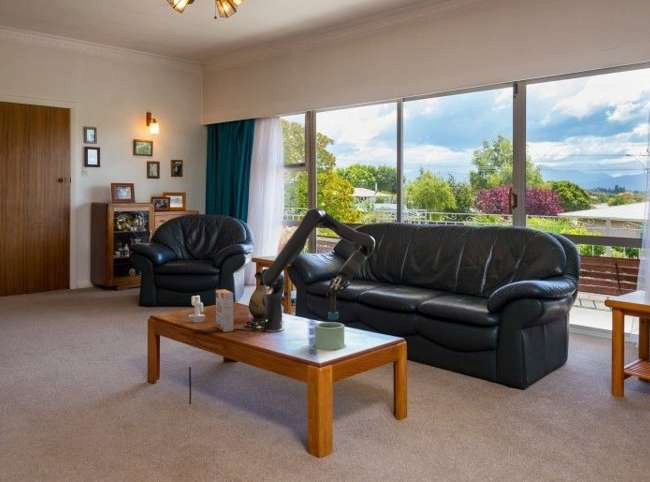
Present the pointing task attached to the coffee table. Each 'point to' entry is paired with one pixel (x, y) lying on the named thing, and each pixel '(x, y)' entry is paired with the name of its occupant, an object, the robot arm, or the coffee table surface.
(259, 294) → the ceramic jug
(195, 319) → the figurine
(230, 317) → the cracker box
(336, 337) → the jar
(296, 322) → the coffee table surface
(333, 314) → the brush
